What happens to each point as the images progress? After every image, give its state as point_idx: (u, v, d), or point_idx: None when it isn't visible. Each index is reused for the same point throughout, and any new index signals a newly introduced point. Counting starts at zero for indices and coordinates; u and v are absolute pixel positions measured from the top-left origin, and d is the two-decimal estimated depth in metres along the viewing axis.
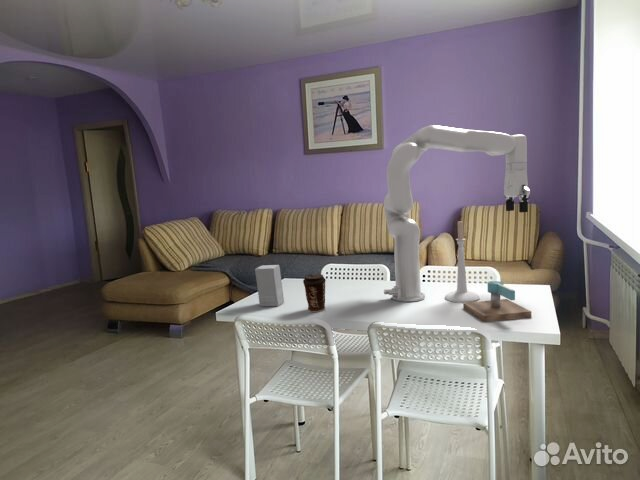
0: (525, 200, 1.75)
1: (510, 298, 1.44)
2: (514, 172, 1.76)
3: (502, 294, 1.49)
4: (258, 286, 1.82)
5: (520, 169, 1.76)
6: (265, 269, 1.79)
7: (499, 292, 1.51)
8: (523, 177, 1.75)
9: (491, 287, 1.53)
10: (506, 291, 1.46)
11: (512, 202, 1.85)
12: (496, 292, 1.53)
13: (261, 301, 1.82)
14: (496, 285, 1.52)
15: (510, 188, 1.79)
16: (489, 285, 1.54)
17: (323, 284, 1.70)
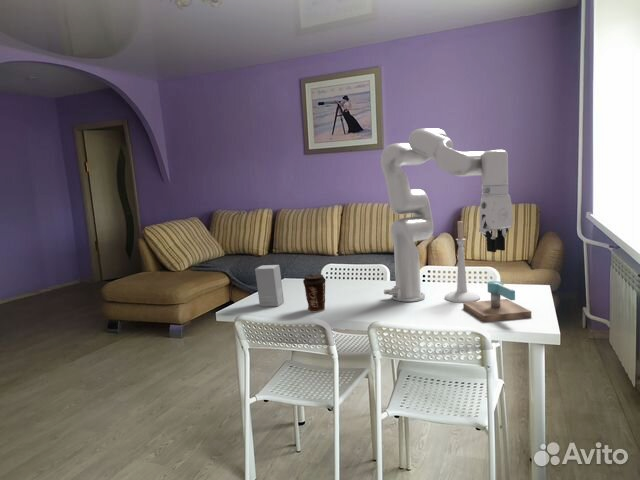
0: None
1: (510, 298, 1.44)
2: (508, 196, 1.40)
3: (502, 294, 1.49)
4: (258, 286, 1.82)
5: None
6: (265, 269, 1.79)
7: (499, 292, 1.51)
8: None
9: (491, 287, 1.53)
10: (506, 291, 1.46)
11: None
12: (496, 292, 1.53)
13: (261, 301, 1.82)
14: (496, 285, 1.52)
15: (504, 217, 1.39)
16: (489, 285, 1.54)
17: (323, 284, 1.70)
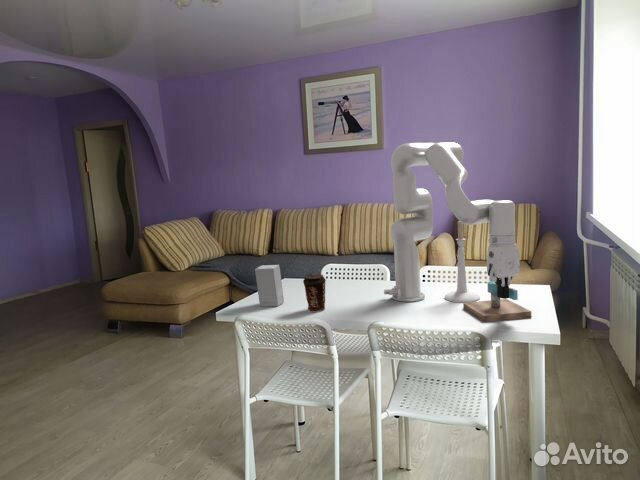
0: None
1: (513, 298, 1.44)
2: (515, 245, 1.43)
3: None
4: (258, 286, 1.82)
5: None
6: (265, 269, 1.79)
7: None
8: None
9: (491, 287, 1.53)
10: None
11: None
12: None
13: (261, 301, 1.82)
14: None
15: (511, 266, 1.42)
16: (489, 285, 1.54)
17: (323, 284, 1.70)
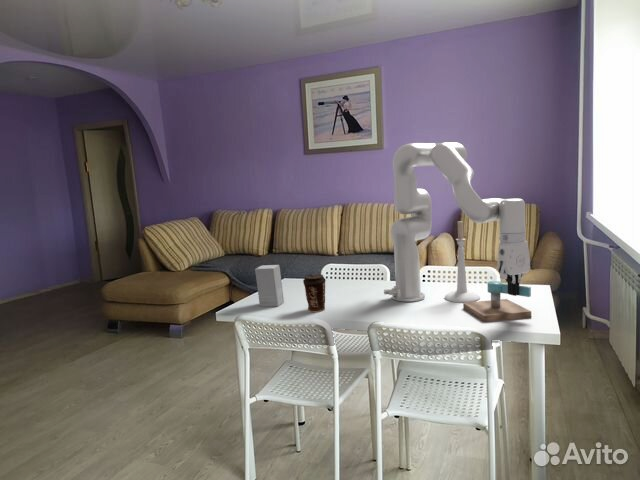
0: None
1: (527, 295, 1.46)
2: (525, 243, 1.45)
3: None
4: (258, 286, 1.82)
5: None
6: (265, 269, 1.79)
7: (506, 291, 1.52)
8: None
9: (495, 288, 1.52)
10: (519, 289, 1.48)
11: None
12: (501, 291, 1.53)
13: (261, 301, 1.82)
14: (501, 285, 1.52)
15: (521, 263, 1.44)
16: (493, 286, 1.53)
17: (323, 284, 1.70)
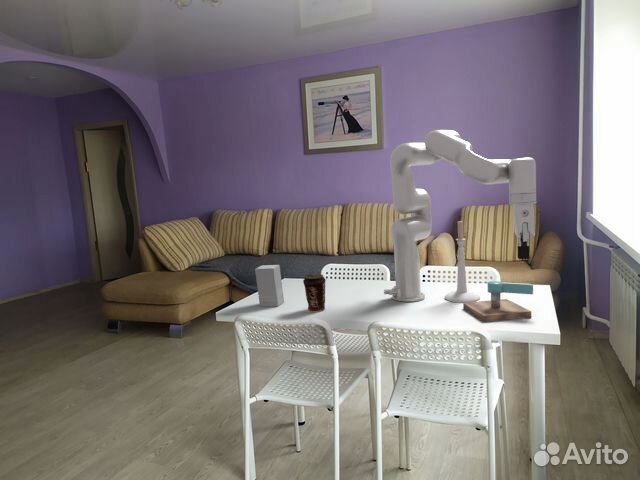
0: None
1: (531, 292, 1.49)
2: None
3: (514, 291, 1.52)
4: (258, 286, 1.82)
5: None
6: (265, 269, 1.79)
7: (507, 290, 1.52)
8: None
9: (498, 288, 1.52)
10: (522, 287, 1.50)
11: None
12: (502, 291, 1.53)
13: (261, 301, 1.82)
14: (502, 284, 1.53)
15: None
16: (496, 286, 1.52)
17: (323, 284, 1.70)
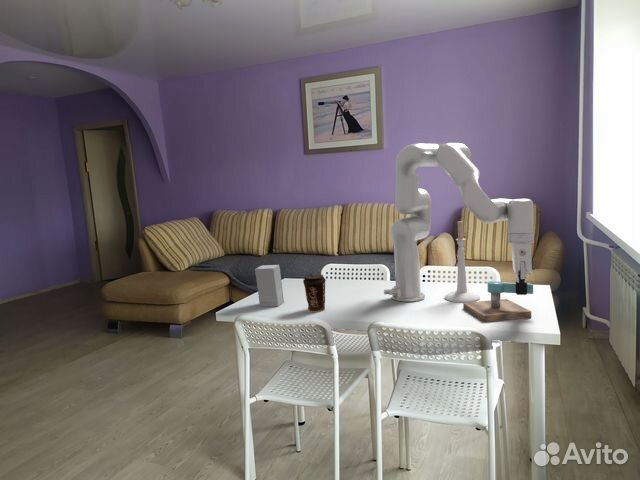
0: None
1: (531, 292, 1.49)
2: None
3: (514, 291, 1.52)
4: (258, 286, 1.82)
5: None
6: (265, 269, 1.79)
7: (507, 290, 1.53)
8: None
9: (498, 288, 1.52)
10: None
11: None
12: (502, 291, 1.53)
13: (261, 301, 1.82)
14: (502, 284, 1.53)
15: None
16: (496, 286, 1.52)
17: (323, 284, 1.70)
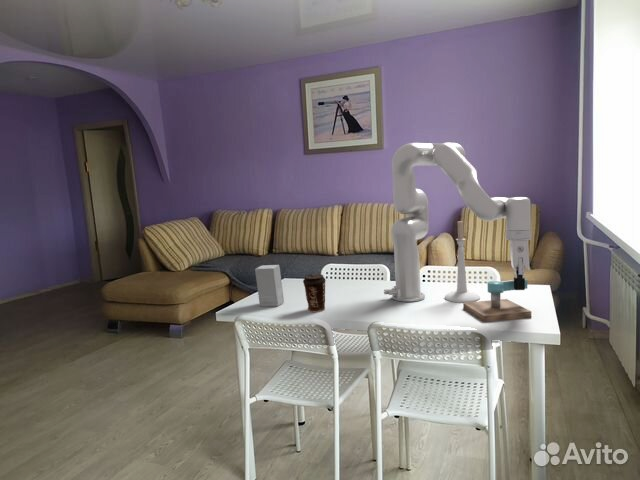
0: None
1: (525, 287, 1.56)
2: None
3: (512, 288, 1.55)
4: (258, 286, 1.82)
5: None
6: (265, 269, 1.79)
7: (507, 288, 1.55)
8: None
9: (502, 287, 1.53)
10: None
11: None
12: None
13: (261, 301, 1.82)
14: (503, 283, 1.54)
15: None
16: (501, 285, 1.53)
17: (323, 284, 1.70)
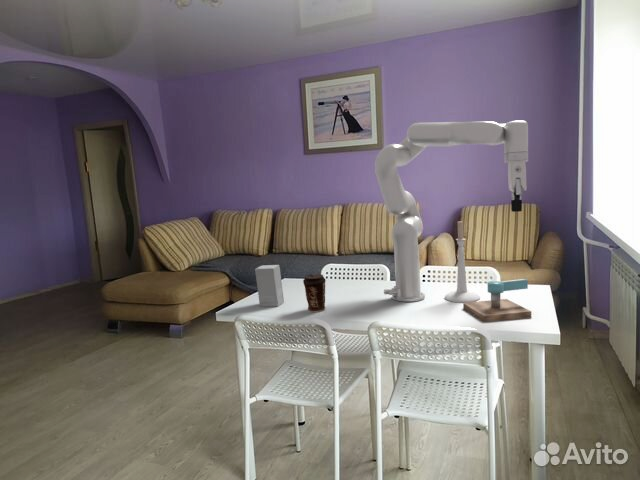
0: None
1: (526, 287, 1.56)
2: None
3: (512, 288, 1.55)
4: (258, 286, 1.82)
5: None
6: (265, 269, 1.79)
7: (507, 288, 1.55)
8: None
9: (502, 287, 1.53)
10: (519, 283, 1.56)
11: None
12: None
13: (261, 301, 1.82)
14: (503, 283, 1.54)
15: None
16: (501, 285, 1.53)
17: (323, 284, 1.70)
